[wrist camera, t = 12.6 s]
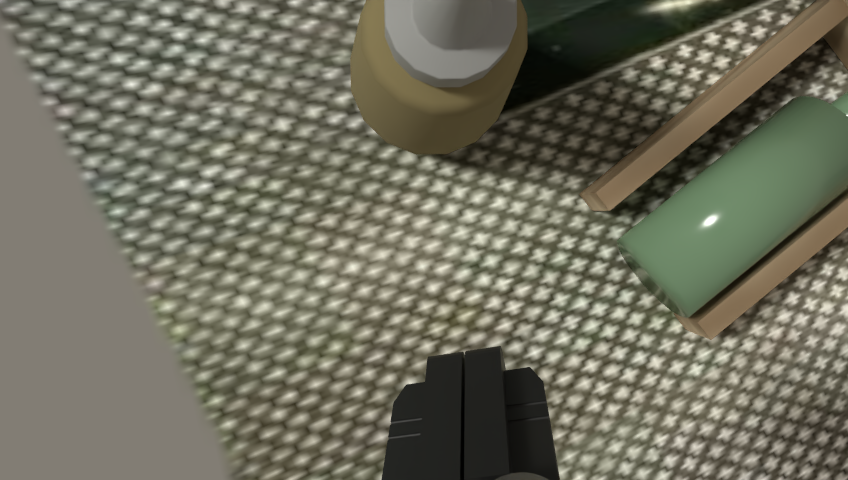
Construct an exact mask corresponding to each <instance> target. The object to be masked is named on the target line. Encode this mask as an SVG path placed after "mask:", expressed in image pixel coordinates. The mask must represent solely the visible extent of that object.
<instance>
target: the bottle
mask: <svg viewBox="0 0 848 480" xmlns="http://www.w3.org/2000/svg"><path fill="white" fill-rule="evenodd" d="M846 189H848V91H846V92H845V93H844V94H843V95H841V96H840V97H839V98H838V99H836V100H835V101H834V102H833V103H831V104H829V103H827V102H825V101H823V100H820V99H817V98H814V97H808V96H800V97H796V98H793V99H792V100H790V101H789V102H788V103H787V104H785V105H784V106H783V107H782V108H780V109H779V110H778V111H777V112H775V113H774V114H773V115H772V116H770V117H769V118H768V119H767V120H766V121H764V122H763V123H762V124H761V125H759V126H758V127H757V128H756V129H754V130H753V131H752V132H751V133H749V134H748V135H747V136H746V137H744V138H743V139H742V140H741V141H740V142H738V143H737V144H736V145H735V146H733V147H732V148H731V149H730V150H728V151H727V152H726V153H725V154H723V155H722V156H721V157H720V158H718V159H717V160H716V161H715V162H714V163H712V164H711V165H710V166H709V167H707V168H706V169H705V170H704V171H702V172H701V173H700V174H699V175H697V176H696V177H695V178H694V179H692V180H691V181H690V182H689V183H688V184H686V185H685V186H684V187H683V188H681V189H680V190H679V191H678V192H676V193H675V194H674V195H673V196H671V197H670V198H669V199H668V200H666V201H665V202H664V203H663V204H662V205H660V206H659V207H658V208H657V209H655V210H654V211H653V212H652V213H650V214H649V215H648V216H647V217H645V218H644V219H643V220H642V221H640V222H639V223H638V224H637V225H635V226H634V227H633V228H632V229H631V230H629V231H628V232H627V233H626V234H624V235H623V236H622V237H621V238H619V239H618V241H617V244H618V248H619V250H620V252H621V254H622V256H623V258H624V260H625V261H626V263H627V264H628V265H629V267H630V268H631V269H632V271H633V272H634V273H635V274H636V276H637V277H638V278H639V280H640V281H641V282H642V283H643V285H644V286H645V287H646V288H647V289H648V290H649V291H650V292H651V293H652V294H653V295H654V296H655V297H656V298H657V299H658V300H659V301H660V302H661V303H663V304H664V305H665V306H666V307H667V308H669V309H670V310H671V311H673V312H674V313H676V314H678V315H679V316H681V317H684V318H689V317H690V316H691V315H692V314H694V313H695V312H696V311H697V310H699V309H700V308H701V307H702V306H703V305H705V304H706V303H707V302H708V301H710V300H711V299H712V298H713V297H715V296H716V295H717V294H718V293H719V292H721V291H722V290H723V289H724V288H726V287H727V286H728V285H729V284H731V283H732V282H733V281H734V280H735V279H737V278H738V277H739V276H740V275H742V274H743V273H744V272H745V271H747V270H748V269H749V268H750V267H751V266H753V265H754V264H755V263H756V262H758V261H759V260H760V259H761V258H763V257H764V256H765V255H766V254H767V253H769V252H770V251H771V250H772V249H774V248H775V247H776V246H777V245H779V244H780V243H781V242H782V241H783V240H785V239H786V238H787V237H788V236H790V235H791V234H792V233H793V232H795V231H796V230H797V229H798V228H800V227H801V226H802V225H803V224H804V223H806V222H807V221H808V220H809V219H811V218H812V217H813V216H814V215H816V214H817V213H818V212H819V211H820V210H822V209H823V208H824V207H825V206H827V205H828V204H829V203H830V202H832V201H833V200H834V199H835V198H836V197H838V196H839V195H840V194H841V193H843V192H844V191H845V190H846Z"/></svg>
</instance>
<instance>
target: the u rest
mask: <svg viewBox="0 0 848 480" xmlns="http://www.w3.org/2000/svg"><path fill="white" fill-rule="evenodd" d="M822 36H823V37H824V39H825V40H826V41H827V43H828V44H829V45H830V47H831V48H832V50H833V51H834V52H835V54H836V55H837V56H838V58H839V59H840V60H841V62H842V63H843V64H844V66H845V67H846V68H847V70H848V0H816V1H815V2H814V3H812V4H811V5H810V6H809V7H807V8H806V9H805V10H804V11H803V12H801V13H800V14H799V15H798V16H796V17H795V18H794V19H793V20H792V21H790V22H789V23H788V24H787V25H785V26H784V27H783V28H782V29H781V30H779V31H778V32H777V33H776V34H774V35H773V36H772V37H771V38H770V39H768V40H767V41H766V42H765V43H763V44H762V45H761V46H760V47H759V48H757V49H756V50H755V51H754V52H752V53H751V54H750V55H749V56H748V57H746V58H745V59H744V60H743V61H741V62H740V63H739V64H738V65H737V66H735V67H734V68H733V69H732V70H730V71H729V72H728V73H727V74H726V75H724V76H723V77H722V78H721V79H719V80H718V81H717V82H716V83H715V84H713V85H712V86H711V87H710V88H708V89H707V90H706V91H705V92H703V93H702V94H701V95H700V96H699V97H697V98H696V99H695V100H694V101H692V102H691V103H690V104H689V105H688V106H686V107H685V108H684V109H683V110H681V111H680V112H679V113H678V114H677V115H675V116H674V117H673V118H672V119H670V120H669V121H668V122H667V123H666V124H664V125H663V126H662V127H661V128H659V129H658V130H657V131H656V132H655V133H653V134H652V135H651V136H650V137H648V138H647V139H646V140H645V141H644V142H642V143H641V144H640V145H639V146H637V147H636V148H635V149H634V150H633V151H631V152H630V153H629V154H628V155H626V156H625V157H624V158H623V159H622V160H620V161H619V162H618V163H617V164H615V165H614V166H613V167H612V168H611V169H609V170H608V171H607V172H606V173H604V174H603V175H602V176H601V177H600V178H598V179H597V180H596V181H595V182H593V183H592V184H591V185H590V186H589V187H587V188H586V189H585V190H584V191H582V192H581V193H580V196H581V197H582V198H583V200H584V201H585V202H586V203H587V205H588V206H589V207H590V208H591V210H592V211H610V210H611V209H613V208H614V207H615V206H616V205H617V204H619V203H620V202H621V201H622V200H624V199H625V198H626V197H627V196H628V195H630V194H631V193H632V192H633V191H635V190H636V189H637V188H638V187H639V186H641V185H642V184H643V183H644V182H645V181H647V180H648V179H649V178H650V177H652V176H653V175H654V174H655V173H656V172H658V171H659V170H660V169H661V168H663V167H664V166H665V165H666V164H667V163H669V162H670V161H671V160H672V159H674V158H675V157H676V156H677V155H678V154H680V153H681V152H682V151H683V150H685V149H686V148H687V147H688V146H689V145H691V144H692V143H693V142H694V141H696V140H697V139H698V138H699V137H700V136H702V135H703V134H704V133H705V132H707V131H708V130H709V129H710V128H711V127H713V126H714V125H715V124H716V123H718V122H719V121H720V120H721V119H722V118H724V117H725V116H726V115H727V114H728V113H730V112H731V111H732V110H733V109H735V108H736V107H737V106H738V105H739V104H741V103H742V102H743V101H744V100H746V99H747V98H748V97H749V96H750V95H752V94H753V93H754V92H755V91H757V90H758V89H759V88H760V87H761V86H763V85H764V84H765V83H766V82H768V81H769V80H770V79H771V78H772V77H774V76H775V75H776V74H777V73H779V72H780V71H781V70H782V69H783V68H785V67H786V66H787V65H788V64H790V63H791V62H792V61H793V60H794V59H796V58H797V57H798V56H799V55H801V54H802V53H803V52H804V51H805V50H807V49H808V48H809V47H810V46H812V45H813V44H814V43H815V42H816V41H818V40H819V39H820V38H821V37H822ZM847 227H848V189H846V190H845V191H844V192H843V193H841V194H840V195H839V196H838V197H836V198H835V199H834V200H833V201H832V202H830V203H829V204H828V205H827V206H825V207H824V208H823V209H822V210H820V211H819V212H818V213H817V214H816V215H814V216H813V217H812V218H811V219H809V220H808V221H807V222H806V223H804V224H803V225H802V226H801V227H800V228H798V229H797V230H796V231H795V232H793V233H792V234H791V235H790V236H788V237H787V238H786V239H785V240H783V241H782V242H781V243H780V244H779V245H777V246H776V247H775V248H774V249H772V250H771V251H770V252H769V253H767V254H766V255H765V256H764V257H763V258H761V259H760V260H759V261H758V262H756V263H755V264H754V265H753V266H751V267H750V268H749V269H748V270H747V271H745V272H744V273H743V274H742V275H740V276H739V277H738V278H737V279H735V280H734V281H733V282H732V283H731V284H729V285H728V286H727V287H726V288H724V289H723V290H722V291H721V292H719V293H718V294H717V295H716V296H715V297H713V298H712V299H711V300H710V301H708V302H707V303H706V304H705V305H703V306H702V307H701V308H700V309H699V310H697V311H696V312H695V313H694V314H692V315H691V316H690V317H689V318H684V317H681V316H679V315H678V314H676V313H674V315H675V316H676V318H677V319H678V320H679V321H680V323H681V324H682V325H683V326H684V328H685V329H686V330H688V331H690V332H693V333H695V334H698V335H700V336H703V337H705V338H708V339H710V340H712V339H713V338H714V337H715V336H716V335H718V334H719V333H720V332H721V331H723V330H724V329H725V328H726V327H727V326H729V325H730V324H731V323H732V322H733V321H735V320H736V319H737V318H738V317H739V316H741V315H742V314H743V313H744V312H746V311H747V310H748V309H749V308H750V307H752V306H753V305H754V304H755V303H756V302H758V301H759V300H760V299H761V298H762V297H764V296H765V295H766V294H767V293H769V292H770V291H771V290H772V289H773V288H775V287H776V286H777V285H778V284H779V283H781V282H782V281H783V280H784V279H786V278H787V277H788V276H789V275H790V274H792V273H793V272H794V271H795V270H796V269H798V268H799V267H800V266H801V265H802V264H804V263H805V262H806V261H807V260H809V259H810V258H811V257H812V256H813V255H815V254H816V253H817V252H818V251H819V250H821V249H822V248H823V247H824V246H825V245H827V244H828V243H829V242H830V241H832V240H833V239H834V238H835V237H836V236H838V235H839V234H840V233H841V232H842V231H844V230H845V229H846V228H847Z"/></svg>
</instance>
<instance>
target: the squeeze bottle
mask: <svg viewBox="0 0 848 480" xmlns="http://www.w3.org/2000/svg"><path fill="white" fill-rule="evenodd" d="M526 51H527V14H526V12H525V9H524V7H523V4H522V2H521V0H366V2H365V5H364V8H363V10H362V13H361V15H360V20H359V24H358V28H357V33H356V37H355V41H354V46H353V50H352V54H351V91H352V94H353V96H354V98H355V101H356V103H357V105H358V108H359V110H360V112H361V115H362V117H363V119H364V121H365V122H366V123H367V124H368V125H369V126H370V127H371V128H372V129H373V130H374V131H375V132H376V133H378V134H379V135H380V136H381V137H382V138H383V139H384V140H385V141H386V142H387V143H389V144H392V145H394V146H397V147H399V148H402V149H404V150H407V151H409V152H411V153H414V154H448V153H451V152H453V151H455V150H458V149H460V148H463V147H465V146H467V145H470V144H472V143H474V142H476V141H477V140H478V139H479V138H480V137H481V136H482V135H483V134H484V133H485V132H486V131H487V130H488V129H489V128H490V127H491V126H492V125H493V124H494V123H495V122H496V121H497V120H498V118H499V115H500V113H501V111H502V109H503V106H504V104H505V102H506V99H507V97H508V95H509V93H510V90H511V88H512V86H513V83H514V81H515V79H516V76H517V74H518V71H519V69H520V66H521V64H522V61H523V59H524V56H525V54H526Z"/></svg>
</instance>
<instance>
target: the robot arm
mask: <svg viewBox="0 0 848 480" xmlns="http://www.w3.org/2000/svg"><path fill="white" fill-rule="evenodd" d="M388 437H389V440H388V442H387V449H386V455H385V462H384V468H383V475H382V480H560V478H559V472H558V465H557V459H556V453H555V447H554V441H553V435H552V430H551V424H550V418H549V412H548V407H547V401H546V395H545V390H544V384H543V381H542V380H541V379H540V378H539V377H538V375H537V374H536V373H535V372H534V371H533V370H532V369H531V368H530V367H527V368H520V369H513V370H506V368H505V363H504V358H503V353H502V349H501V346H498V347H491V348H484V349H477V350H470V351H466V352H465V355H464V352H458V353H451V354H444V355H437V356H430V357H428V359H427V369H426V379H425V382H422V383H415V384H408V385H406V386H405V387H404V389H403V390H402V391H401V393H400V394H399V396H398V397H397V399H396V400H395V401H394V404H393V410H392V417H391V425H390V430H389V436H388Z"/></svg>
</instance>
